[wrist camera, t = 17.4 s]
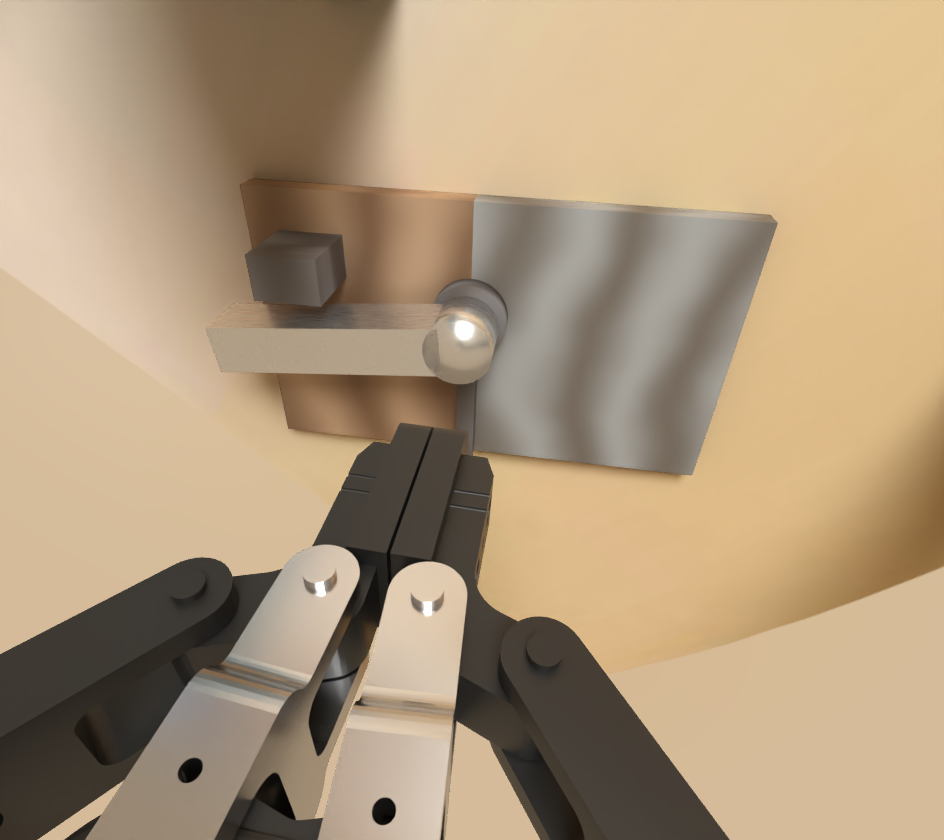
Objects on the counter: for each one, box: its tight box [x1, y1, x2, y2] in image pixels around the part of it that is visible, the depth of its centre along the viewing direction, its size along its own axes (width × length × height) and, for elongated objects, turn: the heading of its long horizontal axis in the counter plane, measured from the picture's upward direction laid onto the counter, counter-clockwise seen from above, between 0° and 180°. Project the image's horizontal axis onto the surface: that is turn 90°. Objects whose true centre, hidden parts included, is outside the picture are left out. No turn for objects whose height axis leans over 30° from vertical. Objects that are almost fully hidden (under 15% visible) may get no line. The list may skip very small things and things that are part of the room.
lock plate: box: [240, 179, 778, 475], centre depth 36 cm, size 30×18×6 cm, turn 88°
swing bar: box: [205, 296, 499, 384], centre depth 35 cm, size 17×4×4 cm, turn 93°
